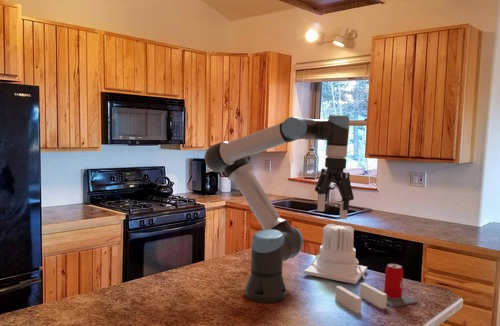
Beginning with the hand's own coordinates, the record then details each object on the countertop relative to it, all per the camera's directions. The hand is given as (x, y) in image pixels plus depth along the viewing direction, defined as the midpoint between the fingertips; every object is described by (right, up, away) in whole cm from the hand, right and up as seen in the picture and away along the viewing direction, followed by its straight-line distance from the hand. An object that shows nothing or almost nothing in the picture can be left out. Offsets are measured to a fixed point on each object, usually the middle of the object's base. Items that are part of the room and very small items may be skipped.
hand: (331, 214), depth 151 cm
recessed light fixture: (+8, -30, +28) cm, 41 cm away
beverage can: (+23, -31, +2) cm, 39 cm away
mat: (+23, -32, +2) cm, 39 cm away
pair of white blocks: (+10, -31, -4) cm, 33 cm away
